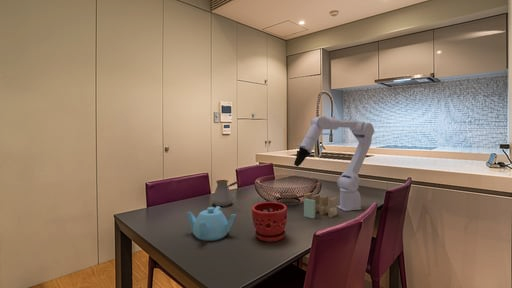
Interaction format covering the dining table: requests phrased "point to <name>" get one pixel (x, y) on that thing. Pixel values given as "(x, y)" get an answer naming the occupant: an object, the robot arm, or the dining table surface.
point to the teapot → (210, 224)
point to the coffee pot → (223, 193)
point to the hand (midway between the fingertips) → (296, 164)
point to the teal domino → (309, 208)
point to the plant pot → (269, 221)
